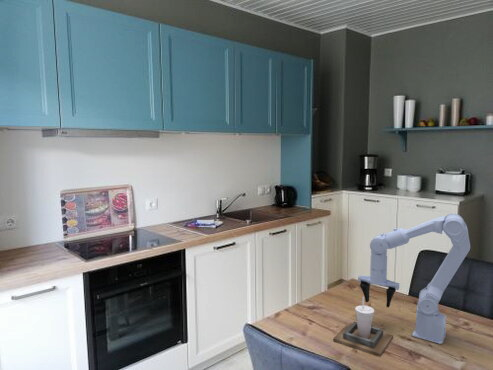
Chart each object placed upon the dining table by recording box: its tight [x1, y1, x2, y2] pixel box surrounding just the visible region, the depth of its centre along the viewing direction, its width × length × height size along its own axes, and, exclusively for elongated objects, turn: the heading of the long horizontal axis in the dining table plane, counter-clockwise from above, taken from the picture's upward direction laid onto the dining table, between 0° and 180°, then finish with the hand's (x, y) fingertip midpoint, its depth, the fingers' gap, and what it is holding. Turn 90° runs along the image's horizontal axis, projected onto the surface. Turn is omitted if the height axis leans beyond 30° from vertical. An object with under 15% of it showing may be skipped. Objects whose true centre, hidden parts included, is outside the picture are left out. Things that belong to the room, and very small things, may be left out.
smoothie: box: [354, 296, 375, 338], centre depth 129 cm, size 6×6×14 cm
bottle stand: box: [332, 320, 394, 358], centre depth 128 cm, size 16×14×3 cm
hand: (377, 303), depth 138 cm, fingers open, 7 cm apart
